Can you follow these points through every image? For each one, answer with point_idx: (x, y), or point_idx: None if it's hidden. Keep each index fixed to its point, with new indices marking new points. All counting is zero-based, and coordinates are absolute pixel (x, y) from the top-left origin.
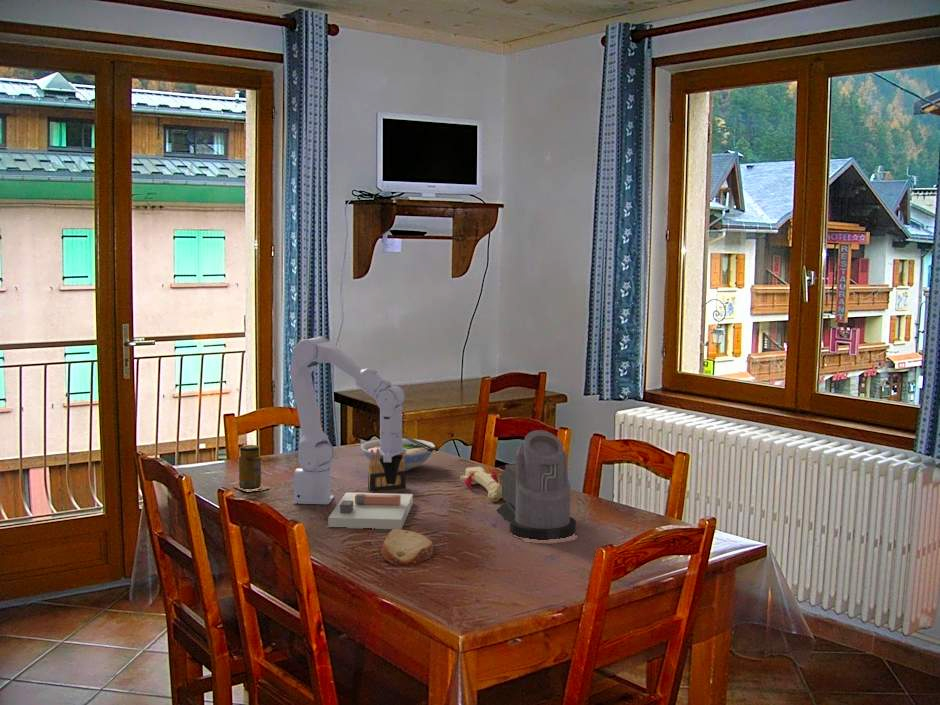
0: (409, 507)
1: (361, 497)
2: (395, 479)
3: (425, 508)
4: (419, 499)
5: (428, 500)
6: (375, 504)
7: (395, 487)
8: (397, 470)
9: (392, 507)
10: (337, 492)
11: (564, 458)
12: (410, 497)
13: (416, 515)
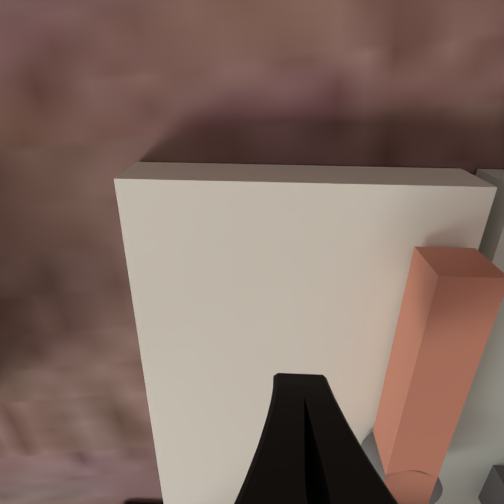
0: (332, 171)
1: (439, 485)
2: (338, 408)
3: (259, 48)
4: (25, 122)
5: (29, 46)
6: None
7: None
8: (340, 499)
9: None
10: (38, 497)
11: None
12: (218, 187)
13: (450, 102)
